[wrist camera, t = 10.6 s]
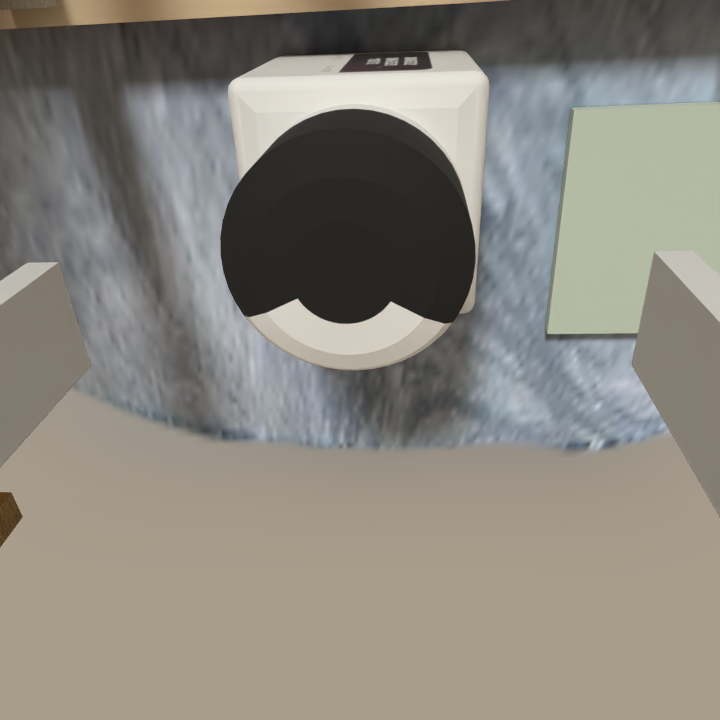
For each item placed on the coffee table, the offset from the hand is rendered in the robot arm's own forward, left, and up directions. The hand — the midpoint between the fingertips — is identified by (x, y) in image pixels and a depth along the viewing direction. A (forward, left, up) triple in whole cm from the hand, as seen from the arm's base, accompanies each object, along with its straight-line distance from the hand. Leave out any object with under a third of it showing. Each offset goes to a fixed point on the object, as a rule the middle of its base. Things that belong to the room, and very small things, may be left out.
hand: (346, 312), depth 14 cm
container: (0, 0, -15) cm, 15 cm away
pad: (+13, -3, -14) cm, 20 cm away
